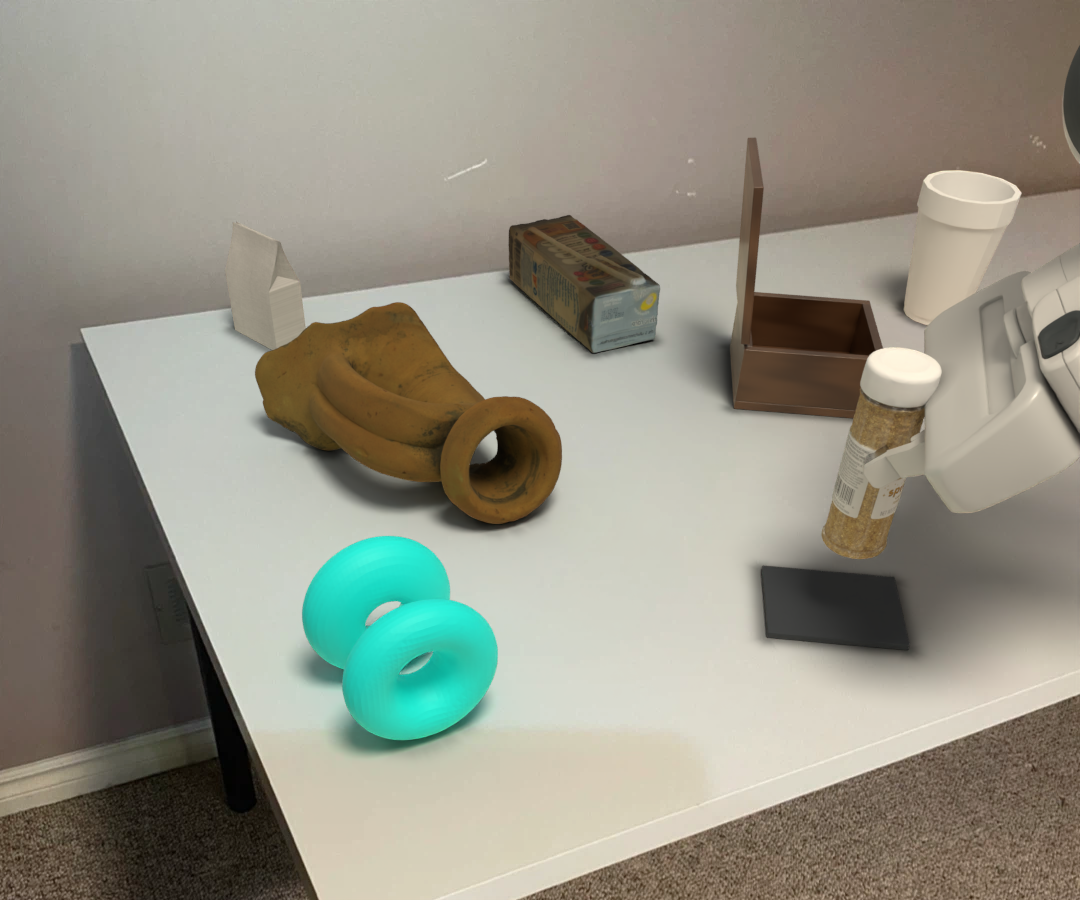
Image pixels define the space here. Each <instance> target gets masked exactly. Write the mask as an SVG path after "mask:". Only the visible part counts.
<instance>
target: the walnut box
mask: <svg viewBox="0 0 1080 900" xmlns="http://www.w3.org/2000/svg"><path fill="white" fill-rule="evenodd" d="M733 321H734V322H733V326H732V332H731V338H730V342H729V343H730V344H729V354H730V356H729V357H730V370H731V371H730V373H731V385H732V387H731V388H732V402H733V409H734V410H746V411H747V410H748V411H758V412H769V413H771V412H772V413H782V414H783V413H784V414H796V415H809V416H821V417H833V418H834V417H835V418H844V419H845V418H846V419H853V418H854V415H855V412H856V408H857V404H858V400H859V397H860V388H861V386H860V382H861V378H862V374H863V370H864V367H865V364H866V361H867V358H868V357H869V355H870V354H871V353H873V352H875V351H876V350H879V349H883V348H884V347H883V343H882V339H881V336H880V332H879V329H878V325H877V323H876V322H877V321H876V319H875V315H874V311H873V308H872V304H871V300H865V299H854V298H840V297H827V296H814V295H813V296H812V295H802V294H788V293H774V292H761V291H754V302H753V313H752V324H751V336H750V344H741V341H740V329H739V316H738V304H737V303H736V307H735V313H734V320H733Z"/></svg>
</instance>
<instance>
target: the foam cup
mask: <svg viewBox="0 0 1080 900" xmlns="http://www.w3.org/2000/svg"><path fill="white" fill-rule="evenodd" d="M1021 197H1022V191H1021V190H1020V189H1019V187H1018V186H1017V185H1016V184H1014V183H1012V182H1010V181H1008V180H1006V179H1003V178H1001V177H997V176H994V175H992V174H991V175H990V174H987V173H984V172H977V171H969V170H962V169H961V170H957V169H956V170H940V171H936V172H933V173H929V174H927V175H926V177H925V178H924V179H923V181H922V184H921V188H920V191H919V196H918V199H917V203H916V206H917V215H916V220H915V221H916V222H915V226H914V227H915V228H914V235H913V240H912V241H913V242H912V249H911V254H910V255H911V256H910V261H909V268H908V275H907V280H906V281H907V282H906V288H905V289H906V290H905V296H904V302H903V304H904V306H903V312H904V314H905V316H906V317H907V318H909V319H911V320H912V321H913V322H916V323H919V324H921V325H924V326H928V325H929V324H930V323H931V322H932V321H933V320H934V319H935V318H936V317H937V316H938V315H939V314H940V313H942V312H943V311H945V310H947V309H948V308H950V307H952V306H953V305H955V304H957V303H959V302H961V301H962V300H964V299H966V298H968V297H969V296H971V295H973V294H975V293H977V292H978V289H979V288H980V285H981V283H982V280H983V278H984V277H985V274H986V272H987V270H988V268H989V267H990V263H991V262H992V260H993V257H994V255H995V253H996V251H997V249H998V246H999V245H1000V242H1001V241H1002V238H1003V236H1004V234H1005V233H1006V230H1007V228H1008V225H1010V224H1011V223H1012V220H1013V219H1014V217H1015V214H1016V211H1017V209H1018V205H1019V202H1020V199H1021Z"/></svg>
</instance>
